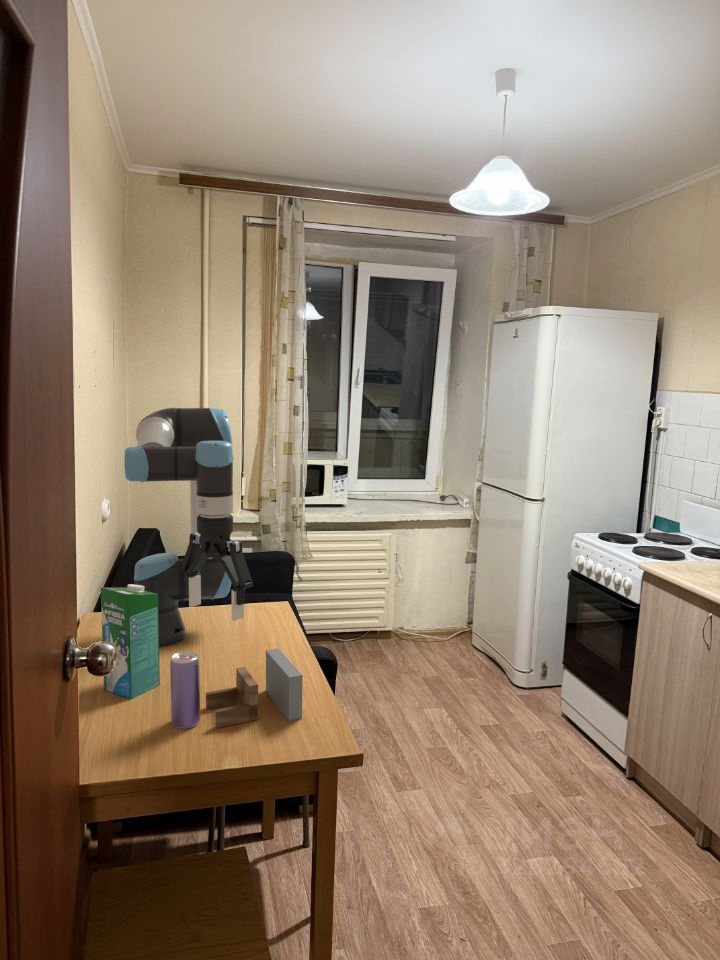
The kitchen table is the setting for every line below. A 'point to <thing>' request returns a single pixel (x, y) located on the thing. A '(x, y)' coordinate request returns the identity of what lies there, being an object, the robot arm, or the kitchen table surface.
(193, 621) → the kitchen table surface
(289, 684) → the backstop
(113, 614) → the milk carton
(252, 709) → the bracket
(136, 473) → the robot arm
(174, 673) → the beverage can
